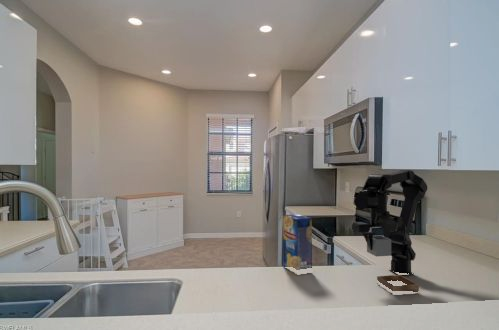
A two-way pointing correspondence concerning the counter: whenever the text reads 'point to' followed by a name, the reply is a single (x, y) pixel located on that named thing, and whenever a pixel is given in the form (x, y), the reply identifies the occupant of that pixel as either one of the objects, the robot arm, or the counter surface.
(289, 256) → the blue cardboard box
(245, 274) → the counter surface
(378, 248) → the grey plastic crate
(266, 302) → the counter surface
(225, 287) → the counter surface
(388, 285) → the walnut crate
